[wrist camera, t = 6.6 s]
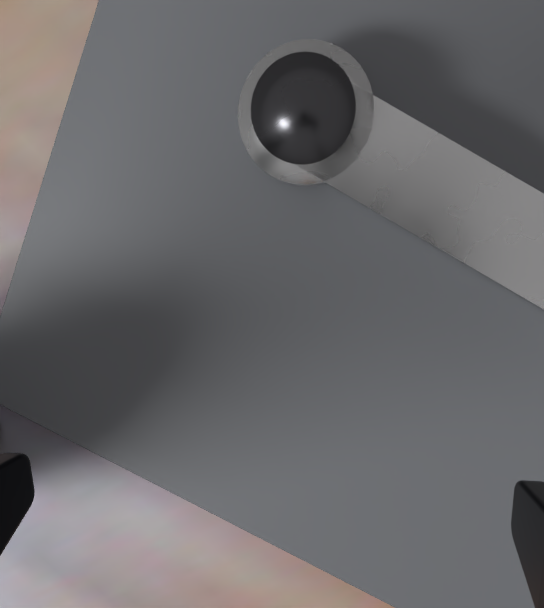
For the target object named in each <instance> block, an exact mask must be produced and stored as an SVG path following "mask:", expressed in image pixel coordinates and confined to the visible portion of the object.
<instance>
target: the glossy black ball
mask: <svg viewBox="0 0 544 608" xmlns="http://www.w3.org/2000/svg"><path fill="white" fill-rule="evenodd" d="M355 112H356V100H355V93H354V89H353V86H352V84H351V81H350V79H349V77H348V76H347V74H346V73H345V71H344V70H343V69H342V68H341V67H340V66H339V65H338V64H337V63H336V62H335V61H333V60H332V59H330V58H328V57H327V56H324V55H322V54H319V53H315V52H296V53H291V54H289V55H286V56H284V57H282V58H280V59H278V60H277V61H275V62H274V63H272V64H271V65H270V66H269V67H268V68H267V69H266V70H265V72H264V73H263V74H262V75H261V77H260V79H259V80H258V82H257V84H256V86H255V89H254V92H253V95H252V100H251V119H252V124H253V128H254V131H255V133H256V136H257V137H258V139H259V141H260V142H261V144H262V145H263V146H264V147H265V148H266V149H267V150H268V151H269V152H270V153H271V154H272V155H274V156H275V157H277V158H279V159H281V160H283V161H285V162H288V163H291V164H298V165H308V164H314V163H317V162H320V161H322V160H324V159H326V158H328V157H330V156H331V155H333V154H334V153H335V152H336V151H337V150H338V149H339V148H340V147H341V146H342V145H343V143H344V142H345V141H346V139H347V137H348V136H349V134H350V132H351V129H352V126H353V123H354V119H355Z"/></svg>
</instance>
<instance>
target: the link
mask: <svg viewBox="0 0 544 608" xmlns="http://www.w3.org/2000/svg"><path fill="white" fill-rule="evenodd" d="M296 52H315V53H319V54H322V55H324V56H327V57H328V58H330V59H332V60H333V61H335V62H336V63H337V64H338V65H339V66H340V67H341V68H342V69H343V70H344V71H345V73H346V74H347V76H348V77H349V79H350V81H351V84H352V86H353V89H354V93H355V100H356V112H355V119H354V123H353V126H352V129H351V132H350V134H349V136H348V137H347V139H346V141H345V142H344V143H343V145H342V146H341V147H340V148H339V149H338V150H337V151H336V152H335V153H334V154H333V155H331V156H330V157H328V158H326V159H324V160H322V161H320V162H317V163H314V164H308V165H298V164H291V163H288V162H285V161H283V160H281V159H279V158H277V157H275V156H274V155H272V154H271V153H270V152H269V151H268V150H267V149H266V148H265V147H264V146H263V145H262V144H261V142H260V141H259V139H258V137H257V136H256V133H255V131H254V128H253V124H252V119H251V100H252V95H253V92H254V89H255V86H256V84H257V82H258V80H259V79H260V77H261V75H262V74H263V73H264V72H265V70H266V69H267V68H268V67H269V66H270V65H271V64H272V63H274V62H275V61H277V60H278V59H280V58H282V57H284V56H286V55H289V54H291V53H296ZM238 124H239V130H240V135H241V138H242V140H243V143H244V145H245V147H246V149H247V151H248V153H249V155H250V156H251V158H252V159H253V160H254V161H255V162H256V164H257V165H258V166H259V167H260V168H262V169H263V170H264V171H265V172H266V173H268V174H269V175H271V176H273V177H275V178H277V179H279V180H281V181H284V182H287V183H292V184H296V185H304V186H312V185H319V184H324V183H327V184H329V185H330V186H332V187H334V188H336V189H337V190H339V191H341V192H343V193H344V194H346V195H348V196H349V197H351V198H353V199H355V200H356V201H358V202H360V203H361V204H363V205H365V206H367V207H368V208H370V209H372V210H373V211H375V212H377V213H379V214H380V215H382V216H384V217H385V218H387V219H389V220H391V221H392V222H394V223H396V224H397V225H399V226H401V227H403V228H404V229H406V230H408V231H410V232H411V233H413V234H415V235H416V236H418V237H420V238H422V239H423V240H425V241H427V242H428V243H430V244H432V245H434V246H435V247H437V248H439V249H440V250H442V251H444V252H446V253H447V254H449V255H451V256H452V257H454V258H456V259H458V260H459V261H461V262H463V263H465V264H466V265H468V266H470V267H471V268H473V269H475V270H477V271H478V272H480V273H482V274H483V275H485V276H487V277H489V278H490V279H492V280H494V281H495V282H497V283H499V284H501V285H502V286H504V287H506V288H507V289H509V290H511V291H513V292H514V293H516V294H518V295H519V296H521V297H523V298H525V299H526V300H528V301H530V302H532V303H533V304H535V305H537V306H538V307H540V308H542V309H544V193H542V192H540V191H538V190H537V189H535V188H533V187H531V186H530V185H528V184H526V183H525V182H523V181H521V180H519V179H518V178H516V177H514V176H512V175H511V174H509V173H507V172H506V171H504V170H502V169H500V168H499V167H497V166H495V165H493V164H492V163H490V162H488V161H487V160H485V159H483V158H481V157H480V156H478V155H476V154H474V153H473V152H471V151H469V150H468V149H466V148H464V147H462V146H461V145H459V144H457V143H455V142H454V141H452V140H450V139H448V138H447V137H445V136H443V135H442V134H440V133H438V132H436V131H435V130H433V129H431V128H429V127H428V126H426V125H424V124H423V123H421V122H419V121H417V120H416V119H414V118H412V117H410V116H409V115H407V114H405V113H404V112H402V111H400V110H398V109H397V108H395V107H393V106H391V105H390V104H388V103H386V102H385V101H383V100H381V99H379V98H378V97H376V96H374V95H373V92H372V89H371V85H370V82H369V80H368V78H367V75H366V73H365V72H364V70H363V69H362V67H361V66H360V64H359V63H358V62H357V61H356V60H355V58H353V57H352V56H351V55H350V54H349V53H348V52H346V51H345V50H344V49H342V48H341V47H339V46H337V45H334V44H332V43H329V42H326V41H323V40H316V39H301V40H295V41H291V42H288V43H285V44H283V45H280V46H278V47H277V48H275V49H273V50H272V51H270V52H269V53H268V54H266V55H265V56H264V57H263V58H262V59H261V60H260V61H259V62H258V63H257V64H256V65H255V66H254V68H253V69H252V70H251V72H250V74H249V75H248V77H247V79H246V81H245V83H244V86H243V88H242V91H241V95H240V99H239V105H238Z"/></svg>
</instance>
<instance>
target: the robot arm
mask: <svg viewBox="0 0 544 608" xmlns="http://www.w3.org/2000/svg"><path fill="white" fill-rule="evenodd" d="M33 499H34V485H33V478H32V472H31V466H30V460H29V458H28V457H27V456H26V455H25V454H21V453H3V454H0V555H1V554H2V552H3V550H4V549H5V547H6V545H7V544H8V542H9V541H10V539H11V537H12V536H13V534H14V532H15V531H16V529H17V528H18V526H19V524H20V523H21V521H22V519H23V518H24V516H25V514H26V513H27V511H28V510H29V508H30V506H31V504H32V502H33ZM511 532H512V537H513V541H514V544H515V547H516V550H517V553H518V556H519V559H520V563H521V566H522V569H523V572H524V575H525V578H526V581H527V585H528V588H529V591H530V594H531V597H532V600H533V603H534V606H535V608H544V482H542V481H527V480H520V481H518V482H517V483H516V485H515V487H514V496H513V506H512V517H511Z"/></svg>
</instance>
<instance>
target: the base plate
mask: <svg viewBox="0 0 544 608" xmlns="http://www.w3.org/2000/svg"><path fill="white" fill-rule="evenodd" d="M301 39H316V40H323V41H326V42H329V43H332V44H334V45H337V46H339V47H341V48H342V49H344V50H345V51H346V52H348V53H349V54H350V55H351V56H352V57H353V58H355V60H356V61H357V62H358V63H359V64H360V66H361V67H362V69H363V70H364V72H365V73H366V75H367V78H368V80H369V82H370V85H371V89H372V92H373V95H374V96H376V97H378V98H379V99H381V100H383V101H385V102H386V103H388V104H390V105H391V106H393V107H395V108H397V109H398V110H400V111H402V112H404V113H405V114H407V115H409V116H410V117H412V118H414V119H416V120H417V121H419V122H421V123H423V124H424V125H426V126H428V127H429V128H431V129H433V130H435V131H436V132H438V133H440V134H442V135H443V136H445V137H447V138H448V139H450V140H452V141H454V142H455V143H457V144H459V145H461V146H462V147H464V148H466V149H468V150H469V151H471V152H473V153H474V154H476V155H478V156H480V157H481V158H483V159H485V160H487V161H488V162H490V163H492V164H493V165H495V166H497V167H499V168H500V169H502V170H504V171H506V172H507V173H509V174H511V175H512V176H514V177H516V178H518V179H519V180H521V181H523V182H525V183H526V184H528V185H530V186H531V187H533V188H535V189H537V190H538V191H540V192H542V193H544V0H99V2H98V5H97V8H96V12H95V15H94V18H93V21H92V24H91V28H90V31H89V34H88V37H87V40H86V44H85V47H84V50H83V53H82V56H81V60H80V63H79V66H78V69H77V72H76V76H75V79H74V82H73V85H72V88H71V92H70V95H69V98H68V101H67V104H66V108H65V111H64V114H63V117H62V120H61V124H60V127H59V130H58V133H57V136H56V140H55V143H54V146H53V149H52V152H51V156H50V159H49V162H48V165H47V168H46V172H45V175H44V178H43V181H42V184H41V188H40V191H39V194H38V197H37V200H36V204H35V207H34V210H33V213H32V216H31V220H30V223H29V226H28V229H27V232H26V236H25V239H24V242H23V245H22V248H21V252H20V255H19V258H18V261H17V264H16V268H15V271H14V274H13V277H12V280H11V284H10V287H9V290H8V293H7V296H6V300H5V303H4V306H3V309H2V312H1V316H0V405H2V406H4V407H6V408H8V409H10V410H12V411H14V412H16V413H17V414H19V415H21V416H23V417H25V418H27V419H29V420H31V421H33V422H35V423H37V424H39V425H41V426H43V427H45V428H47V429H49V430H51V431H52V432H54V433H56V434H58V435H60V436H62V437H64V438H66V439H68V440H70V441H72V442H74V443H76V444H78V445H80V446H82V447H84V448H86V449H88V450H89V451H91V452H93V453H95V454H97V455H99V456H101V457H103V458H105V459H107V460H109V461H111V462H113V463H115V464H117V465H119V466H121V467H123V468H125V469H126V470H128V471H130V472H132V473H134V474H136V475H138V476H140V477H142V478H144V479H146V480H148V481H150V482H152V483H154V484H156V485H158V486H160V487H161V488H163V489H165V490H167V491H169V492H171V493H173V494H175V495H177V496H179V497H181V498H183V499H185V500H187V501H189V502H191V503H193V504H195V505H197V506H198V507H200V508H202V509H204V510H206V511H208V512H210V513H212V514H214V515H216V516H218V517H220V518H222V519H224V520H226V521H228V522H230V523H232V524H234V525H235V526H237V527H239V528H241V529H243V530H245V531H247V532H249V533H251V534H253V535H255V536H257V537H259V538H261V539H263V540H265V541H267V542H269V543H270V544H272V545H274V546H276V547H278V548H280V549H282V550H284V551H286V552H288V553H290V554H292V555H294V556H296V557H298V558H300V559H302V560H304V561H306V562H307V563H309V564H311V565H313V566H315V567H317V568H319V569H321V570H323V571H325V572H327V573H329V574H331V575H333V576H335V577H337V578H339V579H341V580H343V581H344V582H346V583H348V584H350V585H352V586H354V587H356V588H358V589H360V590H362V591H364V592H366V593H368V594H370V595H372V596H374V597H376V598H378V599H380V600H381V601H383V602H385V603H387V604H389V605H391V606H393V607H395V608H535V606H534V603H533V600H532V597H531V594H530V591H529V588H528V585H527V581H526V578H525V575H524V572H523V569H522V566H521V563H520V559H519V556H518V553H517V550H516V547H515V544H514V541H513V537H512V532H511V517H512V506H513V496H514V487H515V485H516V483H517V482H518V481H520V480H527V481H542V482H544V309H542V308H540V307H538V306H537V305H535V304H533V303H532V302H530V301H528V300H526V299H525V298H523V297H521V296H519V295H518V294H516V293H514V292H513V291H511V290H509V289H507V288H506V287H504V286H502V285H501V284H499V283H497V282H495V281H494V280H492V279H490V278H489V277H487V276H485V275H483V274H482V273H480V272H478V271H477V270H475V269H473V268H471V267H470V266H468V265H466V264H465V263H463V262H461V261H459V260H458V259H456V258H454V257H452V256H451V255H449V254H447V253H446V252H444V251H442V250H440V249H439V248H437V247H435V246H434V245H432V244H430V243H428V242H427V241H425V240H423V239H422V238H420V237H418V236H416V235H415V234H413V233H411V232H410V231H408V230H406V229H404V228H403V227H401V226H399V225H397V224H396V223H394V222H392V221H391V220H389V219H387V218H385V217H384V216H382V215H380V214H379V213H377V212H375V211H373V210H372V209H370V208H368V207H367V206H365V205H363V204H361V203H360V202H358V201H356V200H355V199H353V198H351V197H349V196H348V195H346V194H344V193H343V192H341V191H339V190H337V189H336V188H334V187H332V186H330V185H329V184H327V183H324V184H319V185H312V186H304V185H296V184H292V183H287V182H284V181H281V180H279V179H277V178H275V177H273V176H271V175H269V174H268V173H266V172H265V171H264V170H263V169H262V168H260V167H259V166H258V165H257V164H256V162H255V161H254V160H253V159H252V158H251V156H250V155H249V153H248V151H247V149H246V147H245V145H244V143H243V140H242V138H241V135H240V130H239V124H238V105H239V99H240V95H241V91H242V88H243V86H244V83H245V81H246V79H247V77H248V75H249V74H250V72H251V70H252V69H253V68H254V66H255V65H256V64H257V63H258V62H259V61H260V60H261V59H262V58H263V57H264V56H265V55H266V54H268V53H269V52H270V51H272V50H273V49H275V48H277V47H278V46H280V45H283V44H285V43H288V42H291V41H295V40H301Z"/></svg>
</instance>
